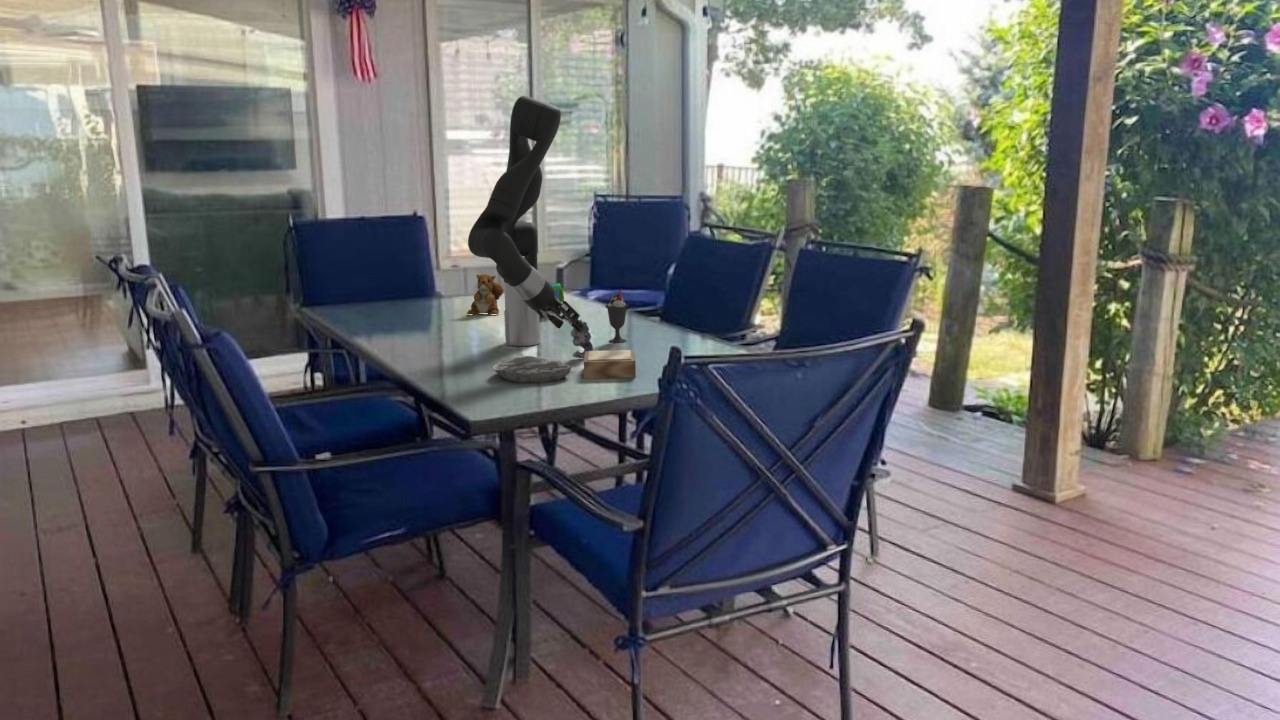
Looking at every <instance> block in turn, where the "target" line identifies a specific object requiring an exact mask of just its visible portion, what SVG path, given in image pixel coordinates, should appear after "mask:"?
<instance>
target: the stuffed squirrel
mask: <svg viewBox="0 0 1280 720" xmlns="http://www.w3.org/2000/svg"><path fill="white" fill-rule="evenodd" d="M475 277H476V279H477V285H475V286H474V288H476V289H477V291H476V293H475V294H474V295H473V302H472V303H471V304H470V309H469V310H468V311H467V312H466V315H467V314H477V315H479V314H478V313H488V314H498V313H500V310H499V307H498V300H499V299H500V297H501V296H503V294H504V287H503V286H502V285H501V284H500V283H498V282H496V281H494V280H495V279H496V278H497V276H496V275H490V274H486V273H482V274H476V275H475ZM488 314H487V315H488ZM498 315H499V314H498Z"/></svg>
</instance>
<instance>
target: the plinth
mask: <svg viewBox="0 0 1280 720" xmlns="http://www.w3.org/2000/svg"><path fill="white" fill-rule="evenodd" d="M635 354H636V353H635V350H630V349H627V350H626V349H619V350H617V349H616V350H615V349H614V350H611V349H610V350H593V351H585V356H584V358H583V377H584V380H585V379H588V380H589V379H591V380H592V379H593V380H594V379H628V378H629V379H630V378H634V379H636V377H637V375H636V372H637V371H636V355H635Z"/></svg>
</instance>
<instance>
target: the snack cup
mask: <svg viewBox="0 0 1280 720" xmlns="http://www.w3.org/2000/svg"><path fill="white" fill-rule="evenodd" d="M549 283H550V284H551V285H552V286H553V288H554V289H555V299H558V300H559V301H560V302H561V303H563V301H565V296H564V291H563V287H562V286H561V285H562V284H561V283H559V282H549ZM540 312H541V311H540Z"/></svg>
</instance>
